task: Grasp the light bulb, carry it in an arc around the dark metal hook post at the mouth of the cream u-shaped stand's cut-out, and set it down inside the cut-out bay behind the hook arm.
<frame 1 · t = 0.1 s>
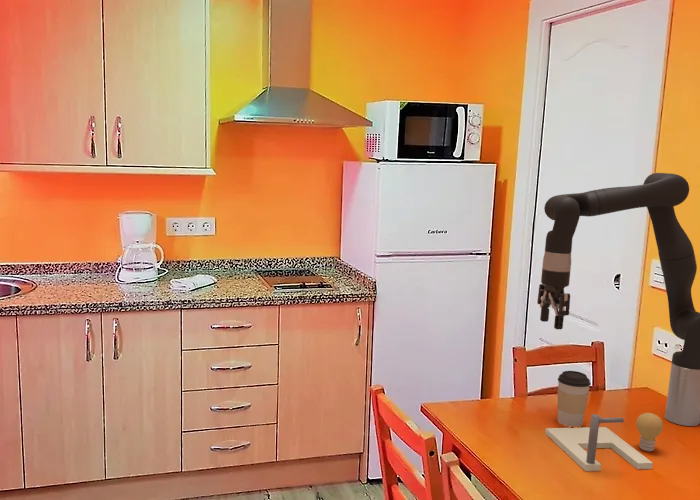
hand: (551, 325, 191), 29 cm above the table, fingers open, 8 cm apart
light bulb: (646, 450, 181), on the table
coffee cup: (569, 423, 197), on the table
cream u-shaped stand: (595, 450, 179), on the table
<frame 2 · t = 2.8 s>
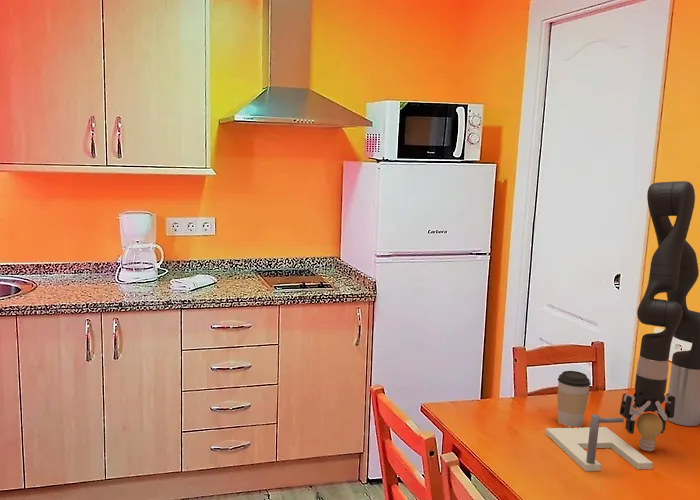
hand: (644, 432, 181), 5 cm above the table, fingers open, 8 cm apart
nothing on the table moved.
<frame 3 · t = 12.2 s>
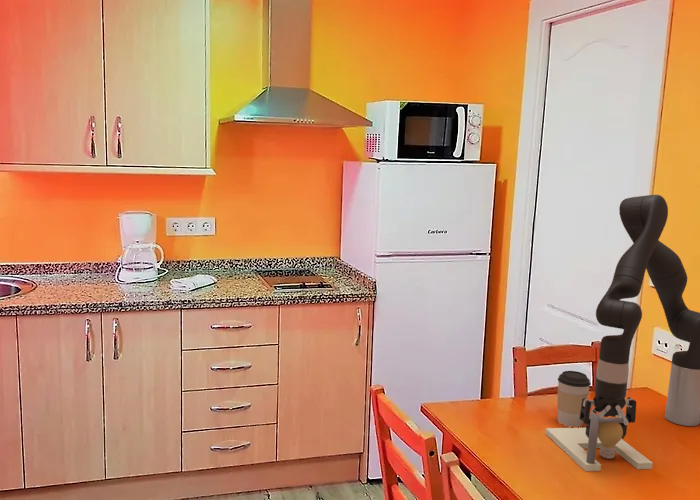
hand: (605, 437, 175), 5 cm above the table, fingers open, 8 cm apart
light bulb: (606, 457, 175), on the table, touching gripper
everything else where it was.
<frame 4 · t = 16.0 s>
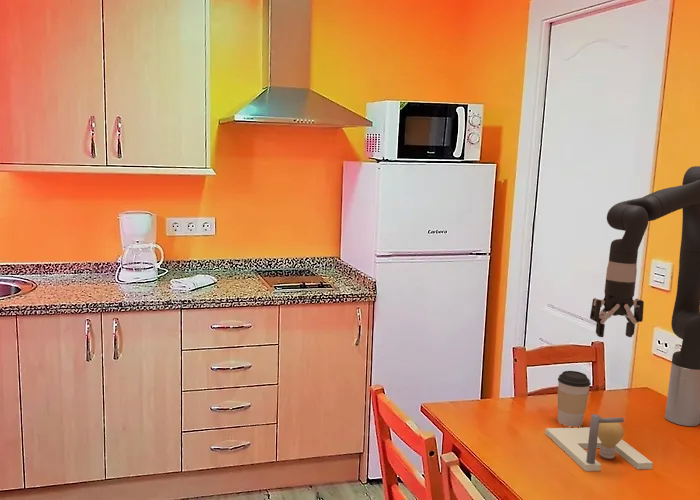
hand: (614, 336, 186), 28 cm above the table, fingers open, 8 cm apart
light bulb: (606, 457, 175), on the table
everything else where it was.
at the end: light bulb inside the target area on the cream u-shaped stand (1.1 cm from its centre), point 0.0 cm above the cream u-shaped stand's base; light bulb tilted 0°; the gripper is holding nothing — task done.
